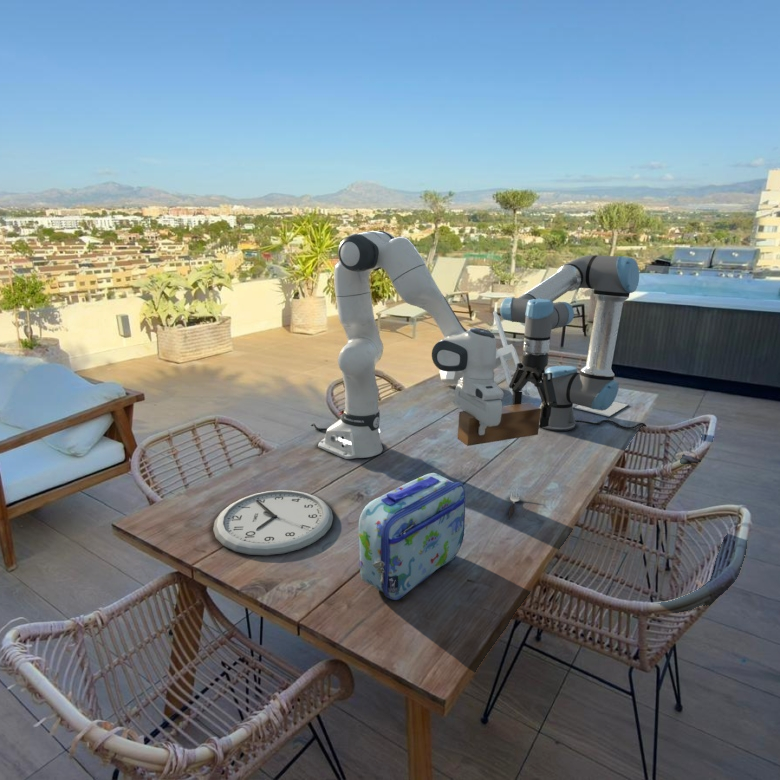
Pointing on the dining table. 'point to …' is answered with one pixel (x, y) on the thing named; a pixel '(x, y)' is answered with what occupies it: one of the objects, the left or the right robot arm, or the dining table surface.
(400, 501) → the lunch box
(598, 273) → the right robot arm
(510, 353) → the white plastic object
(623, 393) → the dining table surface
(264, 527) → the wall clock
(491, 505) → the dining table surface
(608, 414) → the invitation card
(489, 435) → the bar
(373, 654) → the dining table surface
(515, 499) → the fork
